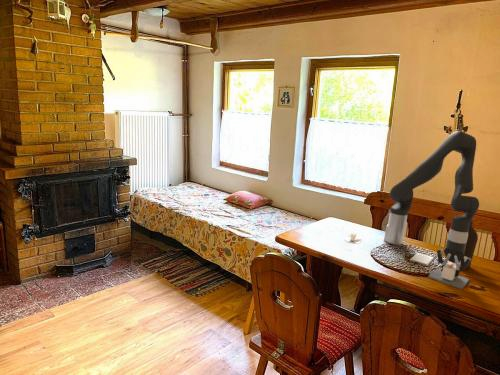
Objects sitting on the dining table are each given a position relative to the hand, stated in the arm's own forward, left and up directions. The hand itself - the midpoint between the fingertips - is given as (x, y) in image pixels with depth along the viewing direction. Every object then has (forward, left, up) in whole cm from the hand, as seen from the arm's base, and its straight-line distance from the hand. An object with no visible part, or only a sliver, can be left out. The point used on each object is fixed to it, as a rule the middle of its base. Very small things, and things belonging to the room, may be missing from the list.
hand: (449, 274), depth 169 cm
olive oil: (-1, +22, -3) cm, 22 cm away
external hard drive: (-16, +13, -3) cm, 21 cm away
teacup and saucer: (-49, +8, -3) cm, 50 cm away
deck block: (0, 0, -1) cm, 1 cm away
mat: (0, 0, -2) cm, 2 cm away
